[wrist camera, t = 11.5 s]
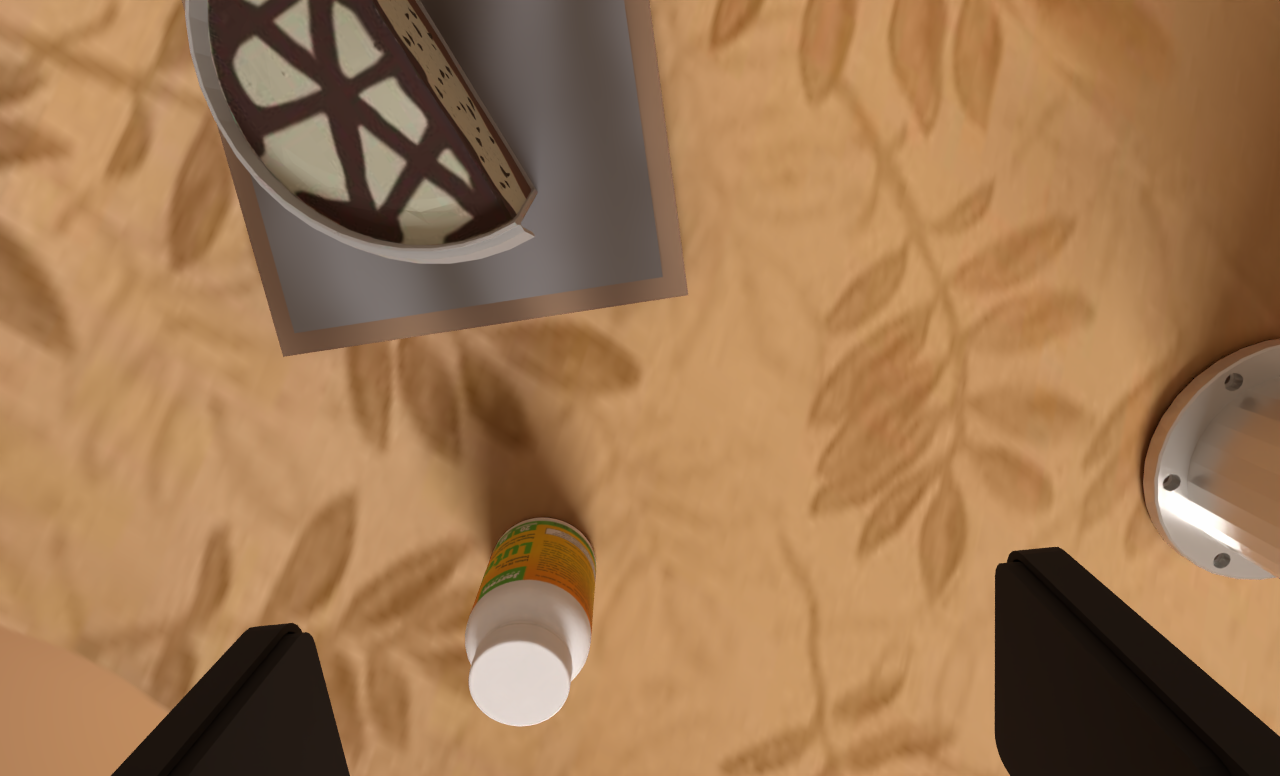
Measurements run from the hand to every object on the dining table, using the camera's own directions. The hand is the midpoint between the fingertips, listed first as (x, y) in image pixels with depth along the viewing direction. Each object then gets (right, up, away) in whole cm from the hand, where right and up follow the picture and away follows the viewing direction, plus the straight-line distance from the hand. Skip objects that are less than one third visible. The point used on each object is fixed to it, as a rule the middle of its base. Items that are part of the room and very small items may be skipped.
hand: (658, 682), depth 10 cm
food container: (-10, +14, +20) cm, 26 cm away
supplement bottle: (-5, -5, +28) cm, 29 cm away
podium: (-8, +16, +22) cm, 29 cm away
